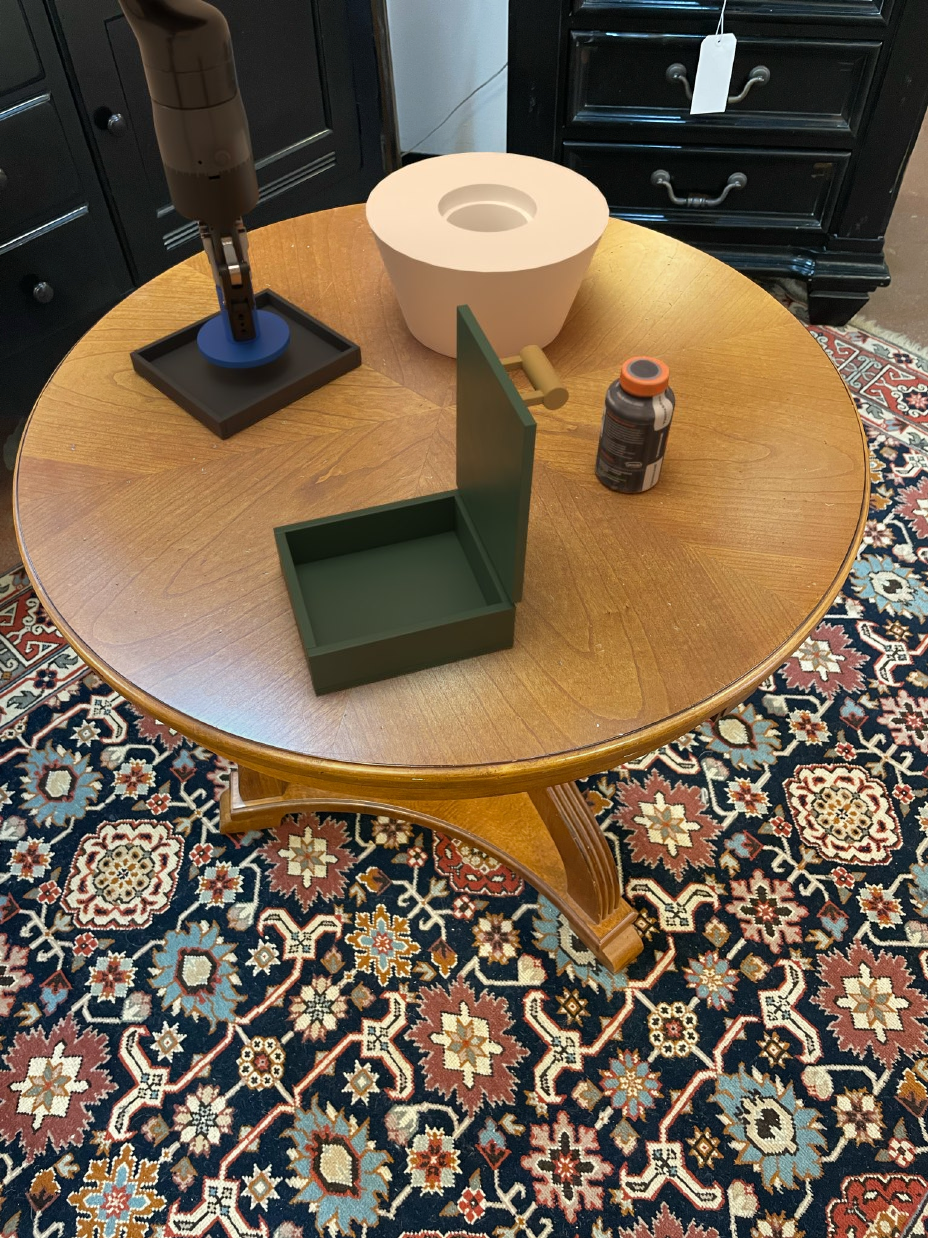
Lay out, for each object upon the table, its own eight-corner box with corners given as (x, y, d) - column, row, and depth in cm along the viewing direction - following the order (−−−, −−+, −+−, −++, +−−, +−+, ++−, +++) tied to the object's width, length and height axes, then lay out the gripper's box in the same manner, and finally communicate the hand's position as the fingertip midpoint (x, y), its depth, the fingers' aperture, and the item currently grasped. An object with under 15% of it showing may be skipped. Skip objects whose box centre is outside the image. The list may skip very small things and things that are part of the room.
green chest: (315, 696, 71) (308, 657, 67) (280, 568, 79) (272, 527, 75) (513, 647, 74) (516, 607, 70) (460, 528, 82) (460, 487, 79)
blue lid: (234, 380, 91) (222, 322, 86) (180, 340, 95) (165, 283, 90) (309, 342, 95) (301, 284, 90) (254, 305, 99) (243, 248, 94)
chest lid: (524, 426, 57) (598, 411, 58) (456, 305, 66) (522, 294, 67) (511, 604, 70) (572, 589, 71) (455, 484, 78) (511, 472, 79)
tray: (223, 440, 90) (219, 422, 88) (134, 370, 96) (128, 352, 95) (362, 364, 97) (360, 346, 96) (270, 304, 104) (267, 287, 103)
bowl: (515, 237, 114) (520, 133, 105) (640, 336, 101) (659, 228, 92) (334, 293, 106) (323, 186, 97) (446, 410, 93) (445, 299, 84)
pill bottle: (671, 485, 86) (696, 381, 77) (613, 502, 85) (631, 397, 76) (639, 445, 90) (659, 341, 81) (583, 460, 88) (597, 356, 80)
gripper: (151, 119, 84) (193, 296, 97) (171, 193, 75) (213, 376, 88) (237, 108, 85) (266, 284, 98) (265, 180, 77) (293, 362, 90)
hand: (241, 326), depth 93 cm, fingers closed on blue lid, 3 cm apart
